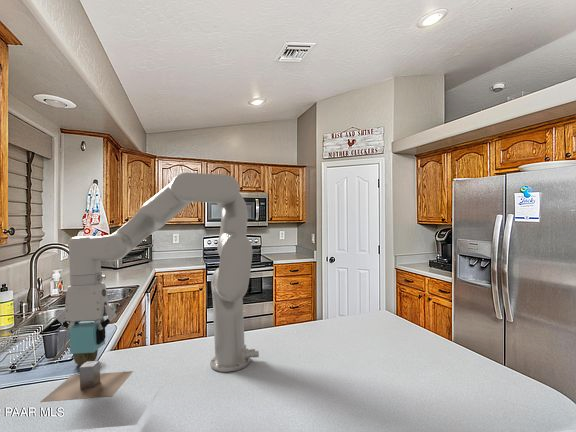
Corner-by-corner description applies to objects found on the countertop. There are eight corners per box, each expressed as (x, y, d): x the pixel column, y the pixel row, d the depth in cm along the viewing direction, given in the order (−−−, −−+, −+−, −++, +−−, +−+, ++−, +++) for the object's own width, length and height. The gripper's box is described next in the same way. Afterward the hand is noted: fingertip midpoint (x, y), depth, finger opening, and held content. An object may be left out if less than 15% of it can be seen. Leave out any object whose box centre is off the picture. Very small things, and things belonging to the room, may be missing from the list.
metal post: (100, 381, 94) (99, 360, 94) (93, 388, 91) (92, 366, 91) (87, 382, 94) (86, 361, 94) (80, 389, 91) (79, 367, 90)
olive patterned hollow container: (86, 374, 102) (85, 348, 102) (66, 373, 104) (65, 347, 104) (104, 363, 110) (103, 339, 110) (85, 362, 111) (84, 338, 111)
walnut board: (133, 375, 100) (133, 371, 100) (112, 401, 86) (111, 396, 86) (71, 380, 99) (71, 375, 99) (40, 407, 85) (40, 401, 85)
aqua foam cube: (104, 343, 96) (104, 319, 96) (93, 352, 89) (93, 326, 89) (82, 344, 95) (81, 320, 95) (70, 353, 89) (69, 328, 89)
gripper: (123, 276, 97) (125, 336, 97) (62, 278, 95) (64, 340, 95) (111, 281, 89) (113, 347, 89) (44, 284, 88) (47, 350, 88)
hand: (88, 342), depth 92 cm, fingers closed on aqua foam cube, 6 cm apart
